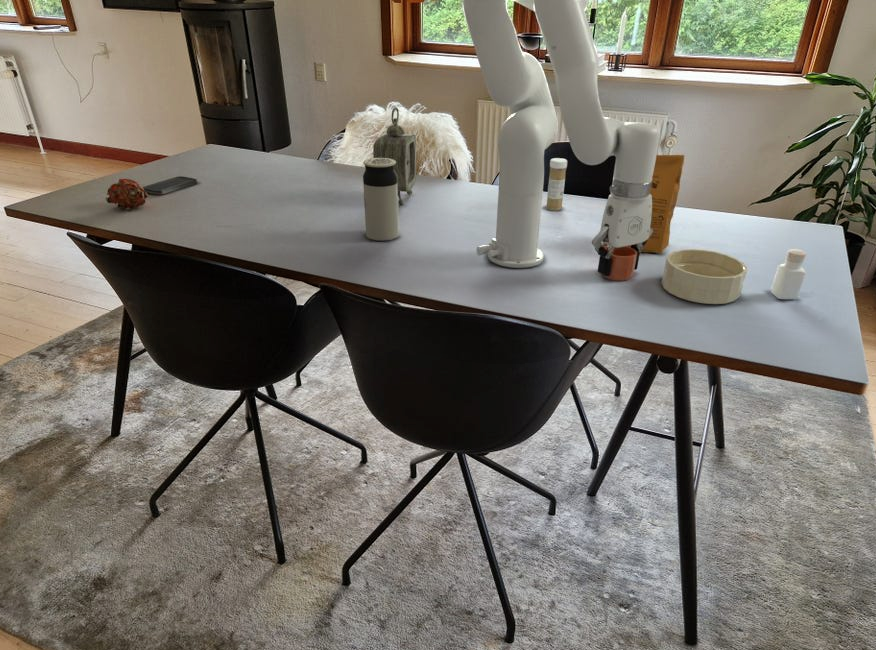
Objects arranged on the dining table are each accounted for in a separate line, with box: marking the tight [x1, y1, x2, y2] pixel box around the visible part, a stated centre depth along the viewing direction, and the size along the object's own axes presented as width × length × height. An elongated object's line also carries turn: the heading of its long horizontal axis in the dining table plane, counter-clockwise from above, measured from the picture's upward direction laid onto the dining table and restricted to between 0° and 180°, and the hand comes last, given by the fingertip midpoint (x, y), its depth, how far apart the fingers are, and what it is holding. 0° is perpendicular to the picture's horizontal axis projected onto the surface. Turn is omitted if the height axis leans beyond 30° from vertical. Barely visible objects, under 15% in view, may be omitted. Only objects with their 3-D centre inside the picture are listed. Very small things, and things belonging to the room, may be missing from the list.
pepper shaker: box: [770, 248, 807, 300], centre depth 125 cm, size 4×4×10 cm
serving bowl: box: [661, 248, 748, 305], centre depth 128 cm, size 15×15×6 cm
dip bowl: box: [601, 245, 637, 282], centre depth 134 cm, size 7×7×6 cm
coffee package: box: [627, 154, 685, 254], centre depth 146 cm, size 10×12×22 cm
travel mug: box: [362, 157, 400, 242], centre depth 149 cm, size 8×8×18 cm
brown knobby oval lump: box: [105, 178, 149, 211], centre depth 168 cm, size 8×8×12 cm
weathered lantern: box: [372, 106, 417, 207], centre depth 174 cm, size 14×9×25 cm, turn 171°
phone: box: [141, 175, 198, 196], centre depth 187 cm, size 8×1×15 cm
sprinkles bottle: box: [545, 157, 568, 211], centre depth 172 cm, size 5×5×14 cm
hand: (617, 270), depth 135 cm, fingers closed on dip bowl, 7 cm apart
